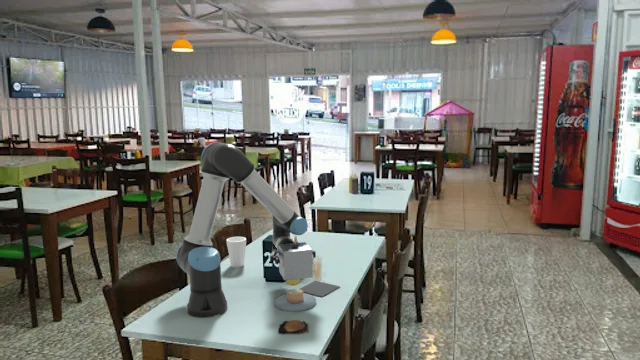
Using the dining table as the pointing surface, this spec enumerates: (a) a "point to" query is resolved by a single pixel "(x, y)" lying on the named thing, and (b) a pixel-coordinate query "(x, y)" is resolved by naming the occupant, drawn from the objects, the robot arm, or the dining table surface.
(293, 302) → the plate with peach cylinder
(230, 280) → the dining table surface
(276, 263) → the robot arm
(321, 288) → the mat
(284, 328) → the bread roll
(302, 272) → the food cover
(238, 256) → the foam cup
